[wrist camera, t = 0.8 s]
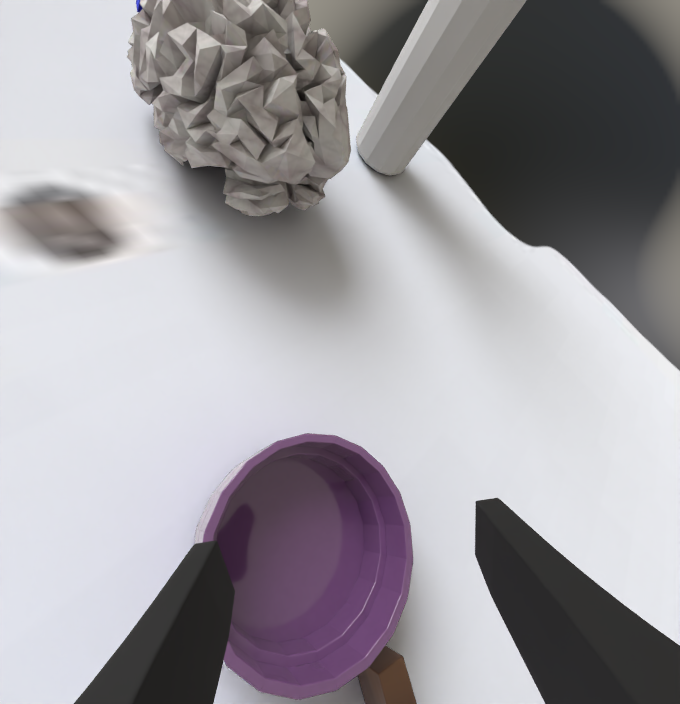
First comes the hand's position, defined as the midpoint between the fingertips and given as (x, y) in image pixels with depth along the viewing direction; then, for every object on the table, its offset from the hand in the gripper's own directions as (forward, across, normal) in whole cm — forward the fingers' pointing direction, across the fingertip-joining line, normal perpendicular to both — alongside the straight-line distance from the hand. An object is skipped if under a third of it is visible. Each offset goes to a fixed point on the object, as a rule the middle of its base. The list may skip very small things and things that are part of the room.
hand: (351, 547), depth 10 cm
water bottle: (+42, -10, -15) cm, 46 cm away
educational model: (+30, +7, -15) cm, 34 cm away
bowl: (+10, +4, +10) cm, 15 cm away
